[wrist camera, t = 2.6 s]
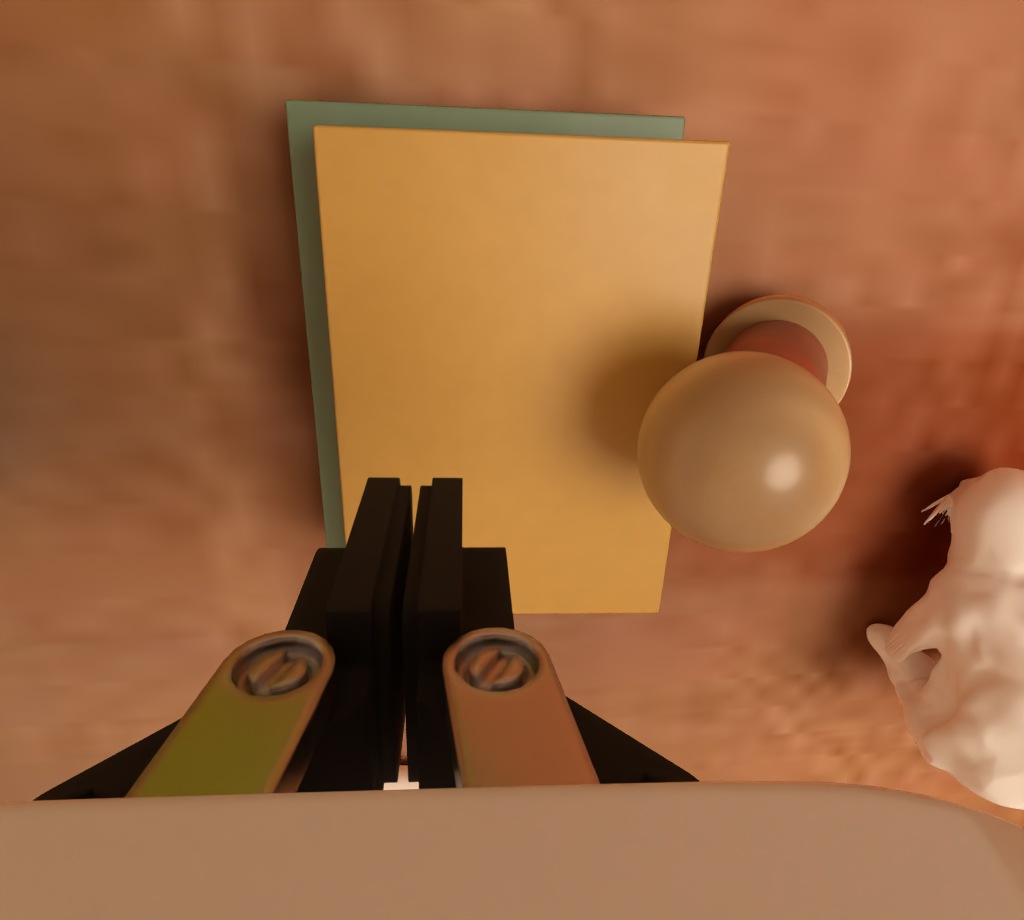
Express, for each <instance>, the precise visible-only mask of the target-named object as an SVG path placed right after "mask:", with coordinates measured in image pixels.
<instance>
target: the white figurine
mask: <svg viewBox="0 0 1024 920" xmlns="http://www.w3.org/2000/svg"><path fill="white" fill-rule="evenodd" d="M939 503H940V504H939ZM937 504H939V505H938V506H937V507H936V509H935V510H934V511H933V512H932V514H931V515H930V516H929V518H928V519H927V520H926V522H925V523H924V525H925V524H926V523H928V521H930V520H931V519H932V518H933V517H934V516H935V515H936V514H937V513H938V512H939V511H940V510H941V511H940V512H939V514H940V513H941V512H943V511H944V512H945V511H946V509H947V513H946V515H947V514H948V516H949V517H950V524H951V534H952V538H951V545H950V548H949V550H948V555H947V563H946V565H945V567H944V568H943V569H942V570H941V571H940V572H939V573H937V574H936V575H935V576H934V577H933V578H932V579H931V580H930V583H929V586H928V590H927V592H926V594H925V595H924V596H923V597H922V598H921V599H920V600H919V601H917V602H916V603H915V604H914V605H913V606H911V607H910V608H909V609H908V610H907V611H906V612H905V614H904V615H903V616H902V617H901V619H900V620H899V621H898V622H897V623H896V625H895V626H894V627H892V626H889V625H885V624H872V625H870V626H868V628H867V630H866V634H867V639H868V641H869V643H870V644H871V645H872V647H873V648H874V649H875V650H876V651H877V653H878V654H879V655H880V657H881V658H882V660H883V661H884V663H885V665H886V668H887V672H888V676H889V679H890V681H891V682H892V683H893V685H894V686H895V691H896V694H897V696H898V698H899V700H900V701H901V703H902V715H903V719H904V722H905V724H906V726H907V728H908V730H909V731H910V733H911V735H912V736H913V738H914V740H915V741H916V743H917V745H918V747H919V750H920V752H921V754H922V757H923V759H924V760H925V761H926V762H927V763H929V764H930V765H933V766H935V767H937V768H940V769H942V770H945V771H947V772H949V773H950V774H951V775H952V776H953V777H954V778H955V779H956V780H957V781H959V782H960V783H961V784H963V785H964V786H966V787H967V788H968V789H970V790H971V791H972V792H974V793H975V794H977V795H978V796H980V797H982V798H984V799H986V800H989V801H991V802H993V803H995V804H998V805H1001V806H1005V807H1010V808H1017V809H1023V810H1024V471H1023V470H1019V469H1014V468H997V469H993V470H990V471H988V472H986V473H984V474H983V475H981V476H979V477H976V478H971V479H966V480H962V481H961V482H960V484H959V487H958V488H956V489H955V490H954V491H952V492H951V493H950V494H948V495H946V496H944V497H943V498H941V499H939V500H937V501H936V502H934V503H932V504H931V505H930V506H928V507H927V508H926V509H924V510H922V511H921V513H922V512H923V511H926V510H927V509H930V508H932V507H934V506H935V505H937ZM942 514H944V513H942ZM946 515H945V517H946ZM939 516H940V515H939ZM941 517H942V516H941ZM949 517H948V519H949ZM944 520H945V518H944ZM944 520H943V521H944ZM938 522H939V521H938ZM938 522H937V523H938ZM948 522H949V521H948ZM942 523H943V522H942ZM942 523H941V524H942ZM936 525H937V524H936ZM936 525H935V526H936ZM930 648H937V649H938V651H939V652H940V653H941V655H942V656H941V659H940V660H939V662H938V663H937V664H936V663H935V662H934V661H933V660H932V659H931V658H930V657H929V656H927V655H926V654H925V653H924V652H923V651H922V650H924V649H930Z"/></svg>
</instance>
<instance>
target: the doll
mask: <svg viewBox="0 0 1024 920" xmlns="http://www.w3.org/2000/svg"><path fill="white" fill-rule="evenodd" d="M851 372H852V352H851V346H850V342H849V338H848V336H847V334H846V332H845V329H844V328H843V326H842V325H841V323H840V322H839V321H838V319H837V318H836V317H835V316H834V315H833V314H832V313H831V312H830V311H828V310H827V309H826V308H824V307H823V306H821V305H820V304H818V303H816V302H814V301H812V300H809V299H806V298H803V297H800V296H794V295H781V294H780V295H769V296H764V297H760V298H757V299H754V300H751V301H749V302H747V303H745V304H743V305H741V306H740V307H738V308H737V309H735V310H734V311H733V312H732V313H730V314H729V315H728V316H727V317H726V318H725V319H724V320H723V321H722V323H721V324H720V325H719V326H718V327H717V328H716V330H715V331H714V333H713V334H712V336H711V338H710V339H709V341H708V344H707V346H706V349H705V353H704V357H703V359H701V360H699V361H697V362H694V363H692V364H691V365H689V366H687V367H686V368H684V369H682V370H681V371H680V372H678V373H677V374H676V375H674V376H673V377H672V378H671V379H670V380H669V381H668V382H667V383H666V384H664V386H663V387H662V388H661V389H660V390H659V392H658V393H657V394H656V395H655V397H654V399H653V400H652V402H651V403H650V405H649V407H648V409H647V411H646V413H645V415H644V418H643V421H642V424H641V427H640V431H639V436H638V444H637V459H638V469H639V473H640V477H641V481H642V484H643V486H644V489H645V491H646V494H647V496H648V497H649V499H650V501H651V502H652V504H653V506H654V507H655V509H656V510H657V511H658V513H659V514H660V515H661V516H662V517H663V519H664V520H665V521H667V522H668V523H669V524H670V525H671V526H672V527H673V528H674V529H676V530H677V531H678V532H679V533H681V534H682V535H684V536H686V537H687V538H689V539H691V540H693V541H695V542H697V543H699V544H701V545H704V546H707V547H710V548H713V549H717V550H722V551H727V552H737V553H747V552H760V551H766V550H770V549H774V548H778V547H781V546H783V545H786V544H788V543H791V542H792V541H794V540H796V539H798V538H800V537H802V536H803V535H805V534H806V533H808V532H809V531H810V530H812V529H813V528H814V527H815V526H817V525H818V524H819V523H820V522H821V521H822V520H823V519H824V518H825V517H826V516H827V514H828V513H829V512H830V511H831V509H832V508H833V507H834V505H835V503H836V502H837V500H838V499H839V497H840V494H841V492H842V490H843V488H844V485H845V482H846V479H847V476H848V472H849V467H850V457H851V446H850V435H849V431H848V427H847V423H846V420H845V418H844V415H843V413H842V411H841V408H840V406H839V405H838V404H839V402H840V401H841V400H842V398H843V396H844V394H845V392H846V390H847V388H848V385H849V382H850V377H851Z"/></svg>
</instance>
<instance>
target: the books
mask: <svg viewBox="0 0 1024 920" xmlns="http://www.w3.org/2000/svg"><path fill="white" fill-rule="evenodd" d="M285 106H286V116H287V127H288V138H289V149H290V159H291V170H292V181H293V192H294V202H295V213H296V224H297V234H298V245H299V256H300V267H301V277H302V288H303V299H304V310H305V320H306V331H307V342H308V353H309V363H310V374H311V385H312V395H313V406H314V417H315V428H316V438H317V449H318V460H319V471H320V481H321V492H322V503H323V514H324V524H325V535H326V546H327V548H345V547H346V544H347V541H348V538H349V535H350V532H351V529H352V526H353V523H354V520H355V516H356V513H357V510H358V507H359V504H360V501H361V498H362V495H363V492H364V489H365V486H366V483H367V479H368V478H369V477H398V478H400V483H401V485H411V487H412V505H413V533H414V526H415V520H416V513H417V506H418V499H419V493H420V486H421V485H425V486H432V479H433V478H463V510H462V547H505V548H506V554H507V564H508V573H509V583H510V592H511V602H512V611H513V614H558V613H657V612H658V611H659V606H660V599H661V593H662V586H663V580H664V573H665V566H666V560H667V553H668V547H669V540H670V533H671V527H672V526H671V525H670V524H669V523H668V522H667V521H665V520H664V519H663V517H662V516H661V515H660V514H659V513H658V511H657V510H656V509H655V507H654V506H653V504H652V502H651V501H650V499H649V497H648V496H647V494H646V491H645V489H644V486H643V484H642V481H641V477H640V473H639V469H638V459H637V444H638V436H639V431H640V427H641V424H642V421H643V418H644V415H645V413H646V411H647V409H648V407H649V405H650V403H651V402H652V400H653V399H654V397H655V395H656V394H657V393H658V392H659V390H660V389H661V388H662V387H663V386H664V384H666V383H667V382H668V381H669V380H670V379H671V378H672V377H673V376H674V375H676V374H677V373H678V372H680V371H681V370H682V369H684V368H686V367H687V366H689V365H691V364H692V363H694V362H697V356H698V349H699V343H700V336H701V330H702V323H703V316H704V310H705V303H706V297H707V290H708V284H709V277H710V270H711V264H712V257H713V251H714V244H715V237H716V231H717V224H718V218H719V211H720V205H721V198H722V191H723V185H724V178H725V172H726V165H727V159H728V152H729V143H728V142H725V141H701V140H683V134H684V126H685V117H680V116H657V115H634V114H610V113H587V112H564V111H541V110H518V109H494V108H471V107H448V106H425V105H402V104H378V103H355V102H332V101H309V100H286V102H285Z"/></svg>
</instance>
